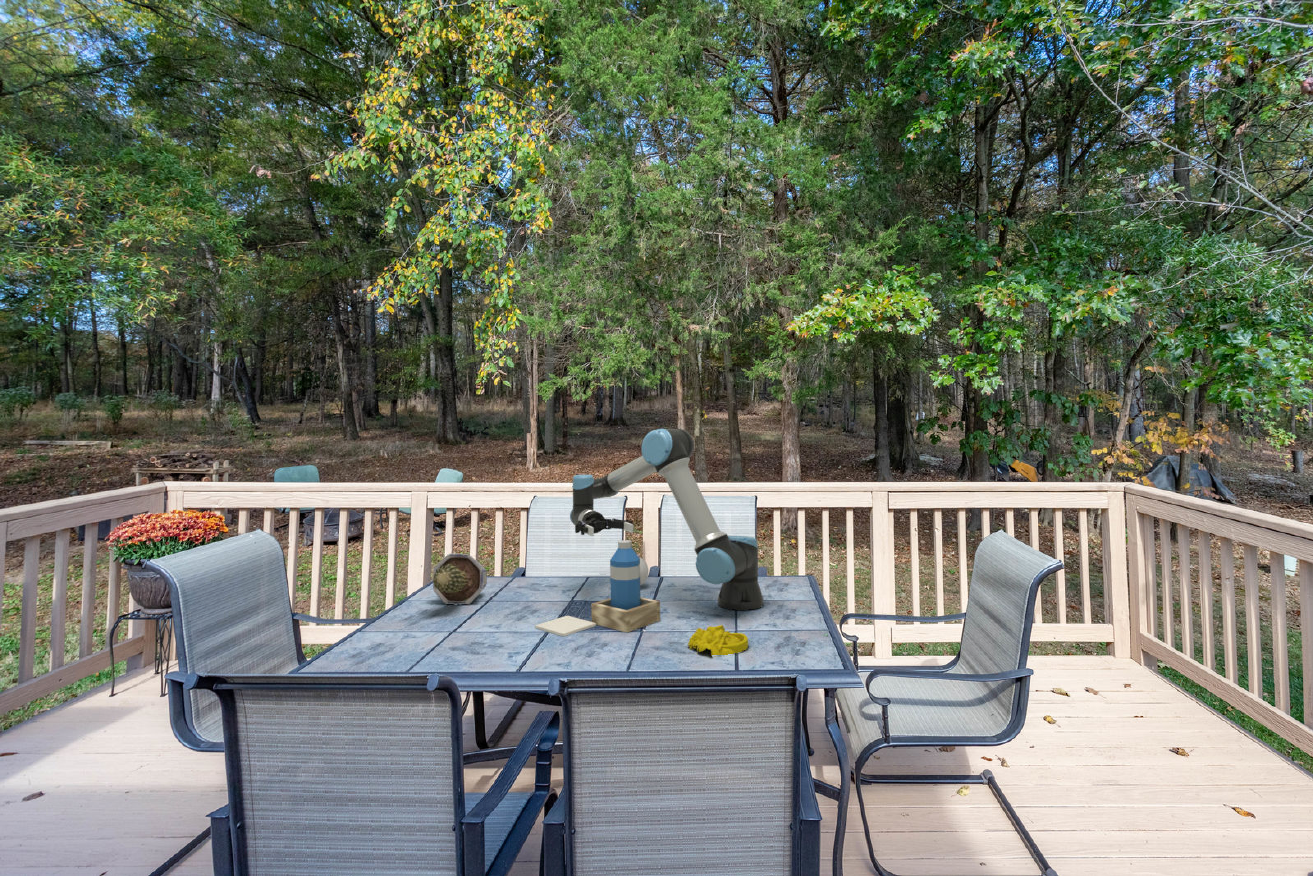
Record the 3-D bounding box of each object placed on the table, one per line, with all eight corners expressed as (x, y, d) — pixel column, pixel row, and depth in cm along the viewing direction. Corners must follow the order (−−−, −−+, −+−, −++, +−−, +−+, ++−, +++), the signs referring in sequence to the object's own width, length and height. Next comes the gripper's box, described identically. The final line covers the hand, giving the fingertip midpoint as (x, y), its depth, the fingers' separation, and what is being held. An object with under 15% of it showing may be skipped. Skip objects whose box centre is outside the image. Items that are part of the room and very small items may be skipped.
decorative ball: (648, 583, 252) (647, 552, 252) (648, 591, 240) (648, 558, 240) (617, 584, 252) (616, 553, 251) (616, 591, 240) (615, 559, 239)
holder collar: (660, 620, 203) (659, 601, 203) (626, 632, 192) (626, 612, 192) (625, 612, 213) (624, 593, 213) (591, 623, 202) (591, 603, 202)
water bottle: (630, 628, 196) (628, 545, 196) (604, 623, 201) (603, 542, 201) (646, 620, 204) (645, 540, 204) (622, 616, 209) (621, 537, 209)
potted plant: (446, 554, 241) (417, 549, 211) (495, 556, 241) (472, 551, 211) (441, 603, 237) (410, 605, 208) (490, 605, 237) (467, 607, 207)
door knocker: (758, 651, 176) (758, 635, 176) (707, 661, 169) (707, 645, 169) (724, 634, 191) (724, 619, 191) (676, 642, 184) (676, 627, 184)
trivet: (596, 625, 199) (595, 623, 199) (563, 636, 189) (563, 633, 189) (567, 618, 208) (567, 615, 208) (534, 628, 198) (534, 625, 198)
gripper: (624, 529, 236) (648, 538, 216) (557, 534, 226) (575, 545, 206) (624, 508, 236) (648, 516, 216) (557, 512, 225) (575, 521, 206)
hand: (612, 530), depth 211 cm, fingers open, 13 cm apart
